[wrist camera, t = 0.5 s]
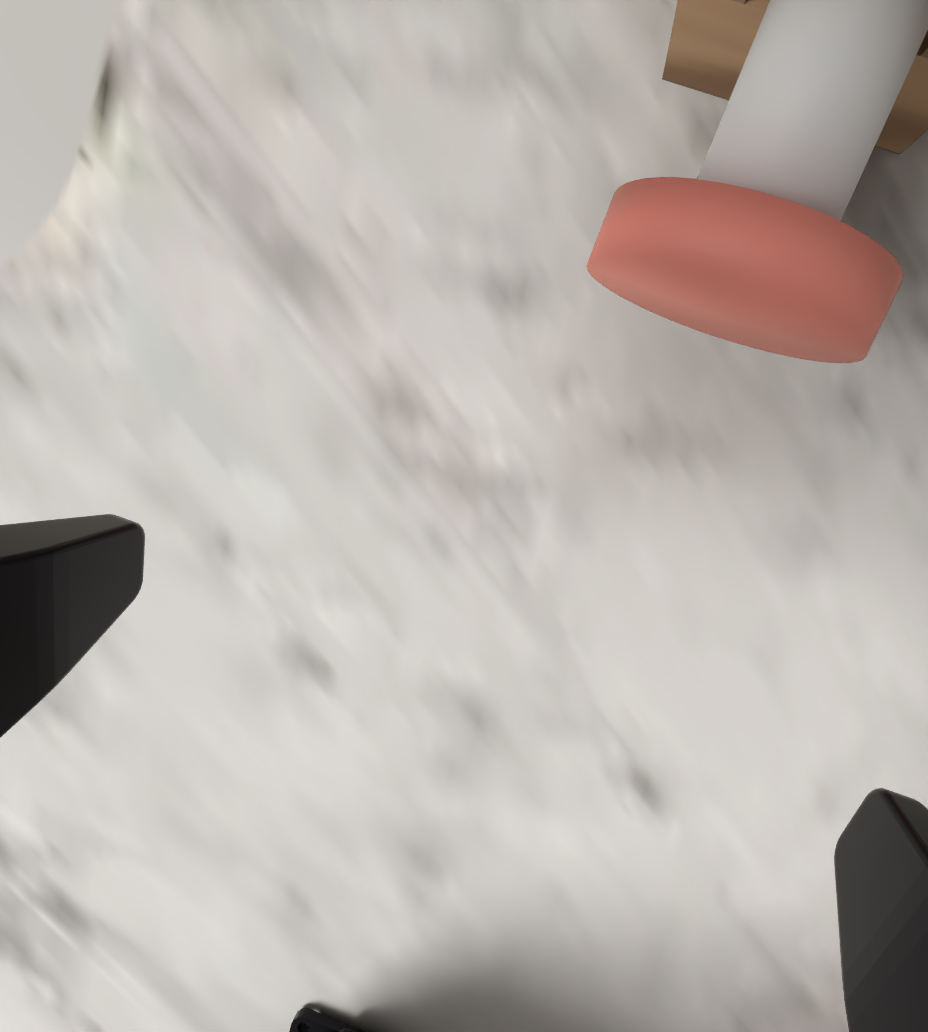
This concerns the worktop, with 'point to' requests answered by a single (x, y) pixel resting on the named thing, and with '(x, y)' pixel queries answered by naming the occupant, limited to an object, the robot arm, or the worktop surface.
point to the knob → (777, 192)
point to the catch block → (725, 46)
